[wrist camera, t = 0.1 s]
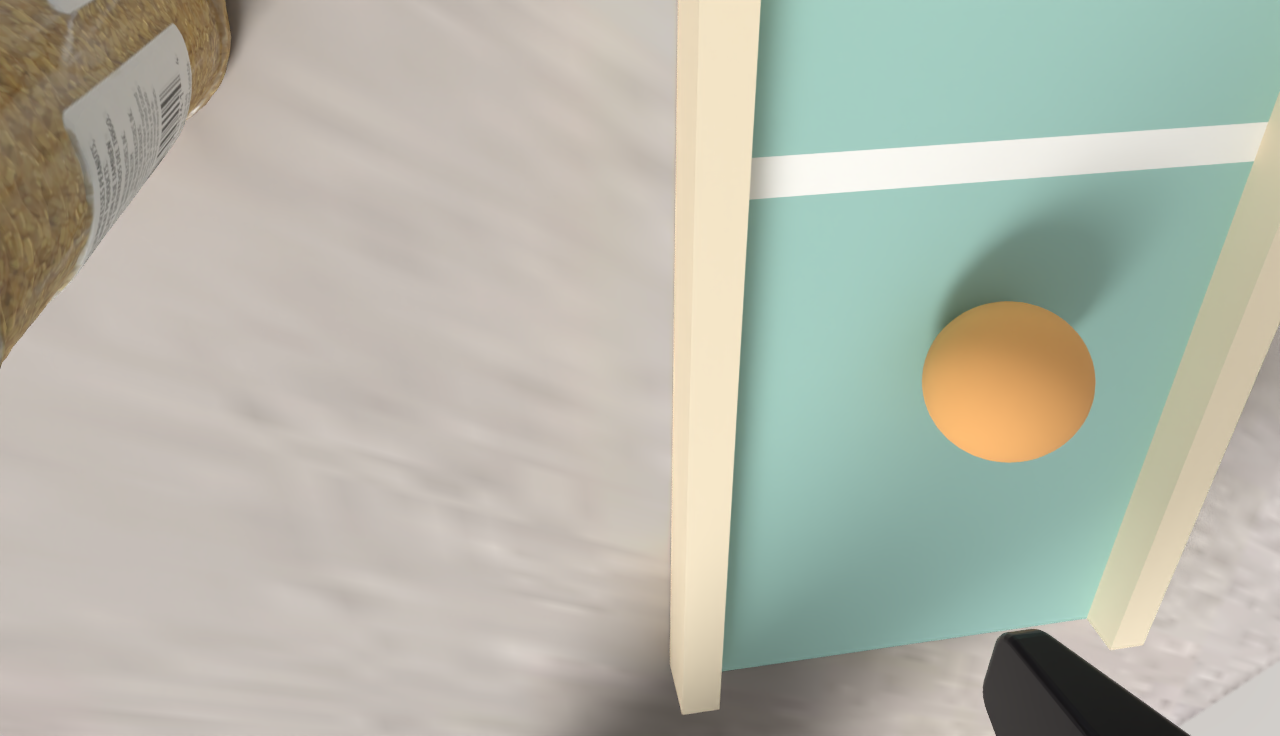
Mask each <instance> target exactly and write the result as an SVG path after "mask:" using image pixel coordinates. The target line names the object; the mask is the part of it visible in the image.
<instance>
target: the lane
mask: <svg viewBox="0 0 1280 736" xmlns="http://www.w3.org/2000/svg"><path fill="white" fill-rule="evenodd" d="M1000 301H1014V302H1024V303H1028V304H1032V305H1036V306H1039V307H1042V308H1044V309H1047V310H1049V311H1051V312H1053V313H1054V314H1056V315H1058V316H1059V317H1061V318H1062V319H1063V320H1065V321H1066V322H1067V323H1068V324H1069V325H1070V326H1071V327H1072V328H1073V329H1074V330H1075V331H1076V332H1077V333H1078V334H1079V336H1080V337H1081V338H1082V340H1083V341H1084V343H1085V345H1086V346H1087V348H1088V351H1089V353H1090V355H1091V358H1092V361H1093V365H1094V370H1095V380H1096V384H1095V395H1094V400H1093V404H1092V406H1091V409H1090V412H1089V414H1088V416H1087V418H1086V420H1085V422H1084V423H1083V425H1082V426H1081V428H1080V429H1079V430H1078V431H1077V433H1076V434H1075V435H1074V436H1073V437H1072V438H1071V439H1070V440H1069V441H1068V442H1066V443H1065V444H1064V445H1062V446H1061V447H1060V448H1058V449H1056V450H1055V451H1053V452H1051V453H1049V454H1047V455H1045V456H1042V457H1039V458H1037V459H1033V460H1029V461H1023V462H1012V463H1005V462H995V461H989V460H986V459H982V458H979V457H976V456H973V455H971V454H969V453H967V452H966V451H964V450H962V449H960V448H959V447H957V446H956V445H955V444H953V443H952V442H951V441H949V440H948V439H947V438H946V437H945V436H944V435H943V434H942V432H941V431H940V430H939V429H938V428H937V426H936V425H935V423H934V421H933V420H932V418H931V416H930V415H929V412H928V410H927V407H926V404H925V401H924V396H923V390H922V373H923V366H924V362H925V359H926V356H927V353H928V351H929V348H930V347H931V345H932V343H933V341H934V340H935V338H936V337H937V335H938V334H939V333H940V332H941V331H942V329H943V328H944V327H945V326H946V325H948V324H949V323H950V322H951V321H952V320H954V319H955V318H956V317H958V316H959V315H961V314H962V313H964V312H966V311H968V310H970V309H972V308H975V307H977V306H980V305H984V304H988V303H994V302H1000ZM1279 323H1280V0H678V29H677V111H676V193H675V275H674V357H673V439H672V521H671V603H670V667H671V671H672V675H673V679H674V684H675V688H676V692H677V696H678V700H679V704H680V709H681V713H682V715H686V714H692V713H699V712H706V711H712V710H719V708H720V691H721V674H722V671H729V670H736V669H743V668H750V667H757V666H764V665H770V664H777V663H784V662H791V661H798V660H805V659H812V658H818V657H825V656H832V655H839V654H846V653H853V652H860V651H866V650H873V649H880V648H887V647H894V646H901V645H908V644H914V643H921V642H928V641H935V640H942V639H949V638H956V637H962V636H969V635H976V634H983V633H990V632H997V631H1003V630H1010V629H1017V628H1024V627H1031V626H1038V625H1045V624H1051V623H1058V622H1065V621H1072V620H1079V619H1086V618H1087V620H1088V621H1089V622H1090V624H1091V625H1092V626H1093V628H1094V629H1095V630H1096V632H1097V633H1098V634H1099V636H1100V637H1101V638H1102V640H1103V641H1104V642H1105V644H1106V645H1107V647H1108V648H1109V649H1110V650H1115V649H1122V648H1128V647H1135V646H1141V645H1143V644H1144V642H1145V639H1146V637H1147V635H1148V632H1149V630H1150V628H1151V625H1152V623H1153V621H1154V618H1155V616H1156V614H1157V611H1158V609H1159V606H1160V604H1161V602H1162V599H1163V597H1164V595H1165V592H1166V590H1167V588H1168V585H1169V583H1170V580H1171V578H1172V576H1173V573H1174V571H1175V569H1176V566H1177V564H1178V562H1179V559H1180V557H1181V555H1182V552H1183V550H1184V547H1185V545H1186V543H1187V540H1188V538H1189V536H1190V533H1191V531H1192V529H1193V526H1194V524H1195V522H1196V519H1197V517H1198V514H1199V512H1200V510H1201V507H1202V505H1203V503H1204V500H1205V498H1206V496H1207V493H1208V491H1209V489H1210V486H1211V484H1212V481H1213V479H1214V477H1215V474H1216V472H1217V470H1218V467H1219V465H1220V463H1221V460H1222V458H1223V456H1224V453H1225V451H1226V448H1227V446H1228V444H1229V441H1230V439H1231V437H1232V434H1233V432H1234V430H1235V427H1236V425H1237V422H1238V420H1239V418H1240V415H1241V413H1242V411H1243V408H1244V406H1245V404H1246V401H1247V399H1248V397H1249V394H1250V392H1251V389H1252V387H1253V385H1254V382H1255V380H1256V378H1257V375H1258V373H1259V371H1260V368H1261V366H1262V364H1263V361H1264V359H1265V356H1266V354H1267V352H1268V349H1269V347H1270V345H1271V342H1272V340H1273V338H1274V335H1275V333H1276V331H1277V328H1278V326H1279Z"/></svg>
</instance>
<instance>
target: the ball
mask: <svg viewBox="0 0 1280 736" xmlns="http://www.w3.org/2000/svg"><path fill="white" fill-rule="evenodd" d="M1095 384H1096V380H1095V370H1094V365H1093V361H1092V358H1091V355H1090V353H1089V351H1088V348H1087V346H1086V345H1085V343H1084V341H1083V340H1082V338H1081V337H1080V336H1079V334H1078V333H1077V332H1076V331H1075V330H1074V329H1073V328H1072V327H1071V326H1070V325H1069V324H1068V323H1067V322H1066V321H1065V320H1063V319H1062V318H1061V317H1059V316H1058V315H1056V314H1054V313H1053V312H1051V311H1049V310H1047V309H1044V308H1042V307H1039V306H1036V305H1032V304H1028V303H1024V302H1014V301H1000V302H994V303H988V304H984V305H980V306H977V307H975V308H972V309H970V310H968V311H966V312H964V313H962V314H961V315H959V316H958V317H956V318H955V319H954V320H952V321H951V322H950V323H949V324H948V325H946V326H945V327H944V328H943V329H942V331H941V332H940V333H939V334H938V335H937V337H936V338H935V340H934V341H933V343H932V345H931V347H930V348H929V351H928V353H927V356H926V359H925V362H924V366H923V373H922V390H923V396H924V401H925V404H926V407H927V410H928V412H929V415H930V416H931V418H932V420H933V421H934V423H935V425H936V426H937V428H938V429H939V430H940V431H941V432H942V434H943V435H944V436H945V437H946V438H947V439H948V440H949V441H951V442H952V443H953V444H955V445H956V446H957V447H959V448H960V449H962V450H964V451H966V452H967V453H969V454H971V455H973V456H976V457H979V458H982V459H986V460H989V461H995V462H1005V463H1012V462H1023V461H1029V460H1033V459H1037V458H1039V457H1042V456H1045V455H1047V454H1049V453H1051V452H1053V451H1055V450H1056V449H1058V448H1060V447H1061V446H1062V445H1064V444H1065V443H1066V442H1068V441H1069V440H1070V439H1071V438H1072V437H1073V436H1074V435H1075V434H1076V433H1077V431H1078V430H1079V429H1080V428H1081V426H1082V425H1083V423H1084V422H1085V420H1086V418H1087V416H1088V414H1089V412H1090V409H1091V406H1092V404H1093V400H1094V395H1095Z"/></svg>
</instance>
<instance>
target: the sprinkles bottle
mask: <svg viewBox="0 0 1280 736" xmlns="http://www.w3.org/2000/svg"><path fill="white" fill-rule="evenodd" d="M230 43H231V34H230V27H229V19H228V14H227V10H226V3H225V0H0V368H1V364H2V362H3V361H4V360H5V359H6V358H7V356H8V354H9V353H10V351H11V349H12V347H13V346H14V345H15V344H16V343H17V341H18V340H19V339H20V338H21V337H22V336H23V334H24V333H25V332H26V330H27V329H28V328H29V326H30V325H31V324H32V323H33V322H34V321H35V320H36V318H37V317H38V316H39V314H40V313H41V312H42V311H43V309H44V308H45V307H46V305H47V304H48V303H50V302H51V301H52V300H53V299H55V298H56V297H57V296H58V295H59V294H60V293H61V292H62V291H63V290H64V289H65V288H66V287H67V286H68V285H69V284H70V283H71V281H72V280H73V279H74V278H75V276H76V275H77V274H78V272H79V271H80V269H81V268H82V267H83V265H84V264H85V263H86V261H87V260H88V258H89V257H90V256H91V254H92V253H93V251H94V250H95V249H96V247H97V246H98V245H99V243H100V242H101V240H102V239H103V238H104V236H105V235H106V234H107V232H108V231H109V230H110V228H111V227H112V226H113V224H114V223H115V222H116V221H117V219H118V218H119V217H120V215H121V214H122V213H123V211H124V210H125V209H126V207H127V206H128V205H129V204H130V202H131V201H132V199H133V198H134V197H135V195H136V194H137V193H138V191H139V190H140V189H141V187H142V186H143V184H144V183H145V182H146V180H147V179H148V178H149V177H150V175H151V174H152V173H153V171H154V170H155V169H156V167H157V166H158V165H159V163H160V162H161V161H162V159H163V158H164V157H165V155H166V154H167V153H168V151H169V150H170V148H171V147H172V145H173V144H174V143H175V141H176V140H177V138H178V137H179V135H180V133H181V131H182V129H183V126H184V124H185V121H186V120H187V119H189V118H190V117H192V116H193V115H194V114H195V113H197V111H198V110H200V109H201V108H202V107H203V106H205V105H206V104H207V102H208V101H209V100H210V98H211V96H212V95H213V94H214V93H215V92H216V90H217V89H218V87H219V86H220V84H221V82H222V80H223V77H224V75H225V72H226V68H227V62H228V58H229V54H230Z"/></svg>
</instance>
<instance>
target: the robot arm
mask: <svg viewBox="0 0 1280 736" xmlns="http://www.w3.org/2000/svg"><path fill="white" fill-rule="evenodd" d="M983 698H984V703H985V707H986V710H987V713H988V715H989V718H990V721H991V723H992V726H993V729H994V731H995V734H996V736H1190V735H1189V734H1187V733H1186V732H1185V731H1183V730H1182V729H1181V728H1179V727H1178V726H1176V725H1175V724H1174V723H1172V722H1171V721H1169V720H1168V719H1167V718H1165V717H1164V716H1162V715H1161V714H1160V713H1158V712H1157V711H1155V710H1154V709H1153V708H1151V707H1150V706H1148V705H1147V704H1146V703H1144V702H1143V701H1141V700H1140V699H1139V698H1137V697H1136V696H1134V695H1133V694H1132V693H1130V692H1129V691H1127V690H1126V689H1125V688H1123V687H1122V686H1120V685H1119V684H1118V683H1116V682H1115V681H1113V680H1112V679H1111V678H1109V677H1108V676H1106V675H1105V674H1104V673H1102V672H1101V671H1099V670H1098V669H1097V668H1095V667H1094V666H1092V665H1091V664H1090V663H1088V662H1087V661H1085V660H1084V659H1083V658H1081V657H1080V656H1078V655H1077V654H1076V653H1074V652H1073V651H1071V650H1070V649H1069V648H1067V647H1066V646H1064V645H1063V644H1062V643H1060V642H1059V641H1057V640H1056V639H1055V638H1053V637H1052V636H1050V635H1049V634H1047V633H1045V632H1043V631H1041V630H1037V629H1028V630H1021V631H1014V632H1007V633H1003V634H1002V635H1001V636H1000V637H999V638H998V639H997V641H996V643H995V647H994V650H993V653H992V657H991V660H990V663H989V666H988V670H987V673H986V676H985V679H984V684H983Z"/></svg>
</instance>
